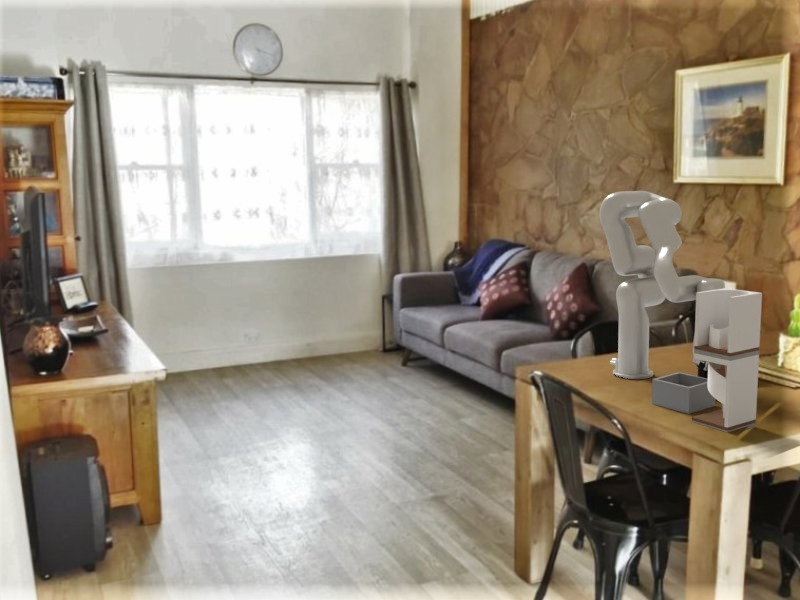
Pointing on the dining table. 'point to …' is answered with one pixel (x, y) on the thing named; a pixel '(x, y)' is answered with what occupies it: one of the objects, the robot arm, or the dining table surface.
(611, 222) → the robot arm
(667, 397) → the open box
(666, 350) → the dining table surface
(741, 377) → the display case
